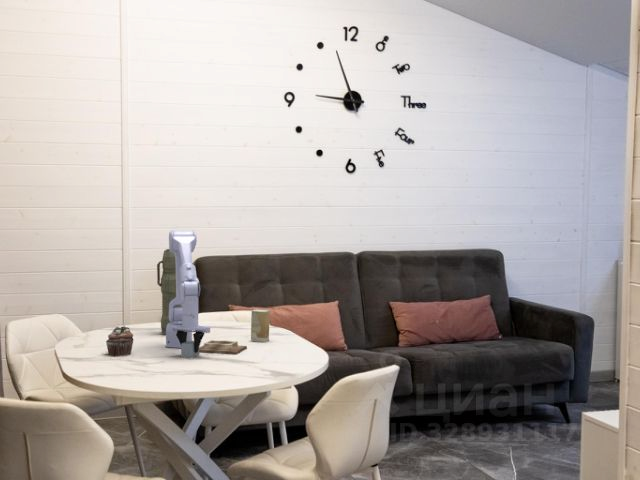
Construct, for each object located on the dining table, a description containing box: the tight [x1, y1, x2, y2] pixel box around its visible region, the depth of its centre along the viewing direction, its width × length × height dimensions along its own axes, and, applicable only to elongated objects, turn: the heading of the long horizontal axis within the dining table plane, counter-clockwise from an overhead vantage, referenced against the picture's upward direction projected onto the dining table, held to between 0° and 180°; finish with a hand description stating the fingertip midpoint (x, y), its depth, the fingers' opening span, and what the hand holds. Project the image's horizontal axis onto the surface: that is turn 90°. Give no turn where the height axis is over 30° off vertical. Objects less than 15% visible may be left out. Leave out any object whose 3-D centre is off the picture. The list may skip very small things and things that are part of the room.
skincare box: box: [250, 309, 271, 343], centre depth 336 cm, size 6×4×12 cm
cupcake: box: [105, 325, 134, 357], centre depth 307 cm, size 10×10×10 cm
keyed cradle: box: [199, 339, 248, 355], centre depth 315 cm, size 16×12×3 cm
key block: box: [180, 339, 200, 359], centre depth 304 cm, size 4×7×5 cm, turn 167°
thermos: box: [156, 248, 182, 336], centre depth 350 cm, size 9×12×35 cm
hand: (190, 352), depth 304 cm, fingers closed on key block, 4 cm apart
